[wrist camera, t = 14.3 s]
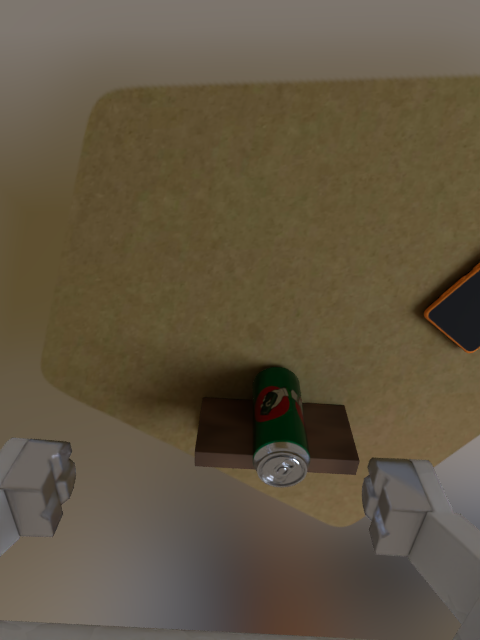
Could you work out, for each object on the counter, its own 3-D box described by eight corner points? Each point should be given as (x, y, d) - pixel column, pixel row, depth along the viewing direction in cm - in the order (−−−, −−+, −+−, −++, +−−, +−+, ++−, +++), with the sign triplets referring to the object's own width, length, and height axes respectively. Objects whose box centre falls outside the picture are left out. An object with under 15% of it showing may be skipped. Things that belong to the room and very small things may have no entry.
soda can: (243, 388, 48) (241, 477, 37) (268, 356, 45) (272, 441, 35) (282, 406, 49) (290, 497, 38) (307, 376, 47) (323, 464, 36)
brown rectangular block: (202, 429, 51) (194, 486, 44) (202, 397, 48) (194, 452, 42) (337, 437, 51) (350, 494, 44) (344, 405, 49) (359, 461, 42)
